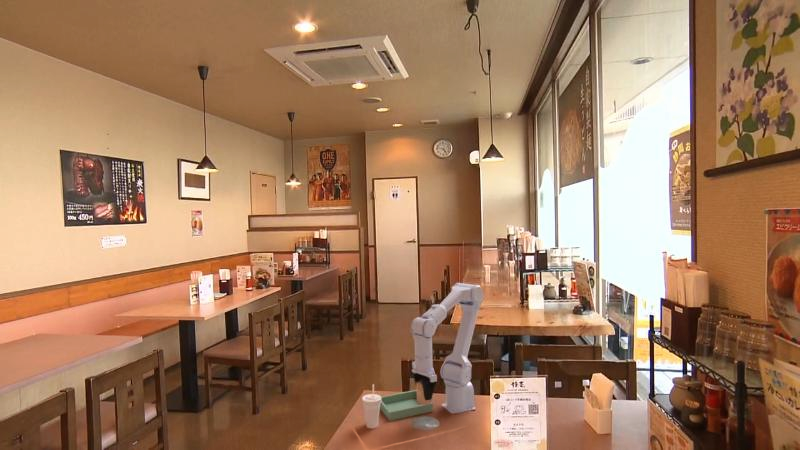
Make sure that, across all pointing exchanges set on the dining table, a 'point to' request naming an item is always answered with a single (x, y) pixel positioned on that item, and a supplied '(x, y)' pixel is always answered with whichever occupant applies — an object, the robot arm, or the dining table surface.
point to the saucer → (425, 423)
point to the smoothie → (371, 409)
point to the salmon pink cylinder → (421, 395)
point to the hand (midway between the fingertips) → (424, 396)
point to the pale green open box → (403, 405)
